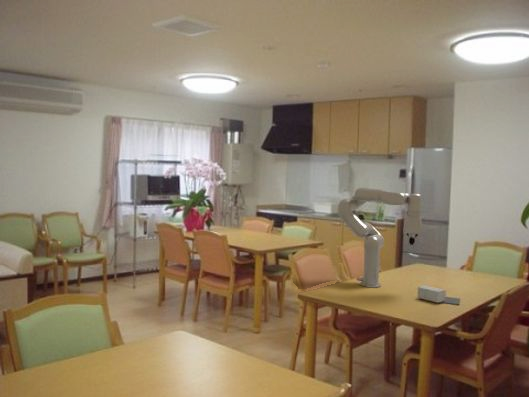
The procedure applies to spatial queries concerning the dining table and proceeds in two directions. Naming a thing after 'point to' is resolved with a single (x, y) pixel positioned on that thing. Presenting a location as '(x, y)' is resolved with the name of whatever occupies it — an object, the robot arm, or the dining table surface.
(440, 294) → the small box
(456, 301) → the mat
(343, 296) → the dining table surface
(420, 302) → the dining table surface
